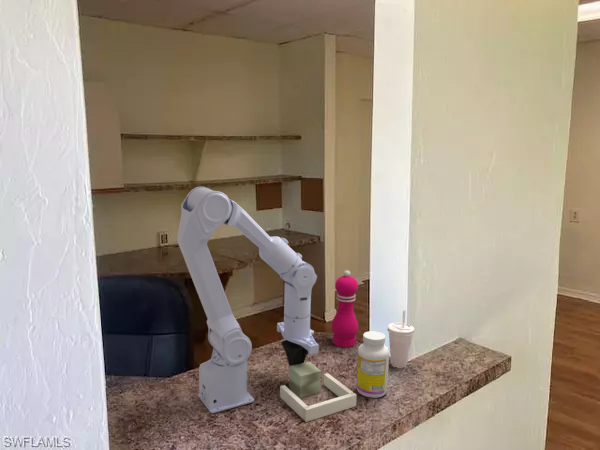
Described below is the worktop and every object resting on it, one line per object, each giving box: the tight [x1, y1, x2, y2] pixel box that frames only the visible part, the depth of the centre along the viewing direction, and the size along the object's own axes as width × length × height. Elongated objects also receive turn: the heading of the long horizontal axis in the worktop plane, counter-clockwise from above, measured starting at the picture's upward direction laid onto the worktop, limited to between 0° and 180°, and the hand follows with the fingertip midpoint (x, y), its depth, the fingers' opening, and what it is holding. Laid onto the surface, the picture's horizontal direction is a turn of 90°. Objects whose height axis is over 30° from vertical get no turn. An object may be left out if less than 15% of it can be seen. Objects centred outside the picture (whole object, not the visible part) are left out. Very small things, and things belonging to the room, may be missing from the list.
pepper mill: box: [330, 270, 359, 348], centre depth 129 cm, size 7×7×20 cm
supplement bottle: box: [356, 330, 390, 399], centre depth 105 cm, size 7×7×13 cm
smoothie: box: [386, 309, 415, 369], centre depth 118 cm, size 6×6×14 cm
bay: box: [279, 372, 357, 423], centre depth 101 cm, size 12×10×2 cm
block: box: [288, 361, 322, 399], centre depth 105 cm, size 5×5×5 cm
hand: (295, 372), depth 109 cm, fingers closed
